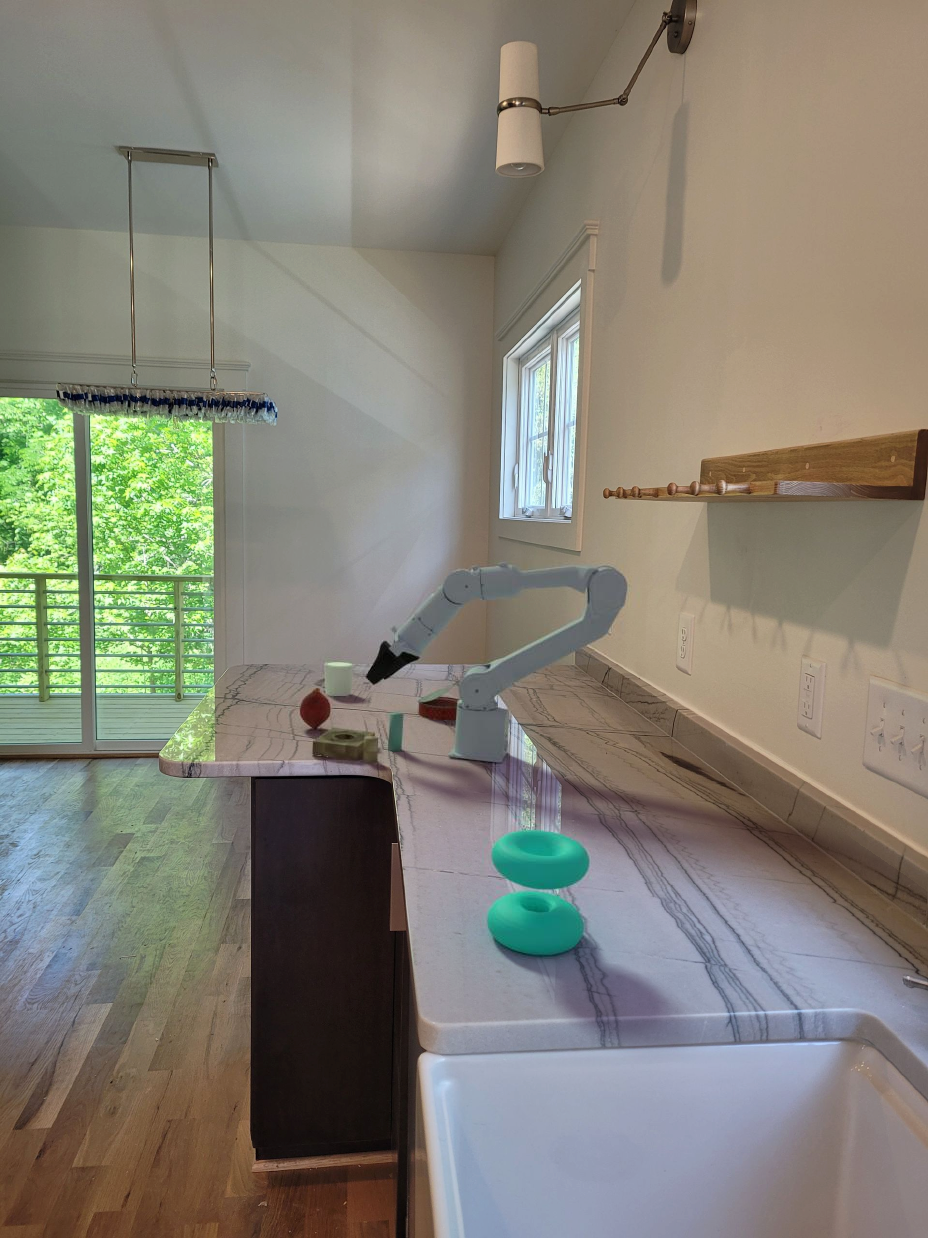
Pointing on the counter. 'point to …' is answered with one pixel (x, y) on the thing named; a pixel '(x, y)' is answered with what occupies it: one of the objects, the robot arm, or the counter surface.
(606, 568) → the robot arm
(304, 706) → the onion
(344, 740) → the board
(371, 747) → the short dowel
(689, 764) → the counter surface
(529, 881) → the donuts
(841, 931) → the counter surface
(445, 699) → the canned food
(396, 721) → the long dowel
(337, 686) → the white short cylinder
